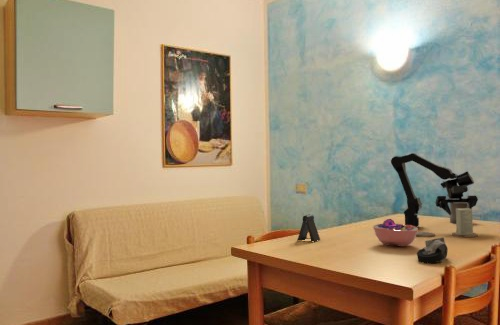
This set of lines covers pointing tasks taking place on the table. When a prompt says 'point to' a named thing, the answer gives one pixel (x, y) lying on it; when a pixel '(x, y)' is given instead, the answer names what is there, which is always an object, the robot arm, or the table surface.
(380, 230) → the cell model
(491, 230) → the table surface
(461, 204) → the pillar candle
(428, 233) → the coaster
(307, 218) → the black folding stand
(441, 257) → the caster wheel
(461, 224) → the skincare box
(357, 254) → the table surface
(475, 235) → the walnut coaster
